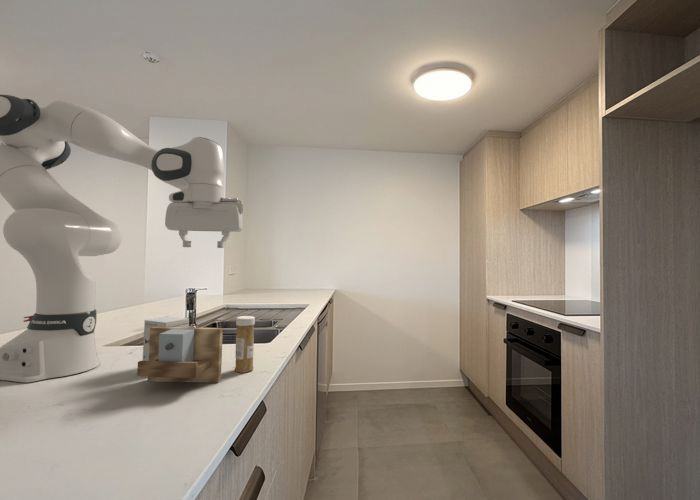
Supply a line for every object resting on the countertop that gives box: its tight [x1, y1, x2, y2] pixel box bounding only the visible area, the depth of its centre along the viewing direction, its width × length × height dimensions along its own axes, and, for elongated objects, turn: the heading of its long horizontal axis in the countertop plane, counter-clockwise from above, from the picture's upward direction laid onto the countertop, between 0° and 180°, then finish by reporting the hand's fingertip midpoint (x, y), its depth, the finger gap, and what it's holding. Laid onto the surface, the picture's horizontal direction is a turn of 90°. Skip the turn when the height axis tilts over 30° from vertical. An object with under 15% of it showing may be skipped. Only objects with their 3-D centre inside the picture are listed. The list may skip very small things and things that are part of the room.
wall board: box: [136, 326, 224, 384], centre depth 71 cm, size 16×8×12 cm, turn 90°
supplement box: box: [142, 315, 190, 361], centre depth 83 cm, size 7×7×13 cm
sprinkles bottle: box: [234, 315, 256, 374], centre depth 83 cm, size 5×5×14 cm
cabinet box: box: [158, 329, 194, 362], centre depth 71 cm, size 5×6×7 cm
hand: (203, 247), depth 90 cm, fingers open, 8 cm apart
